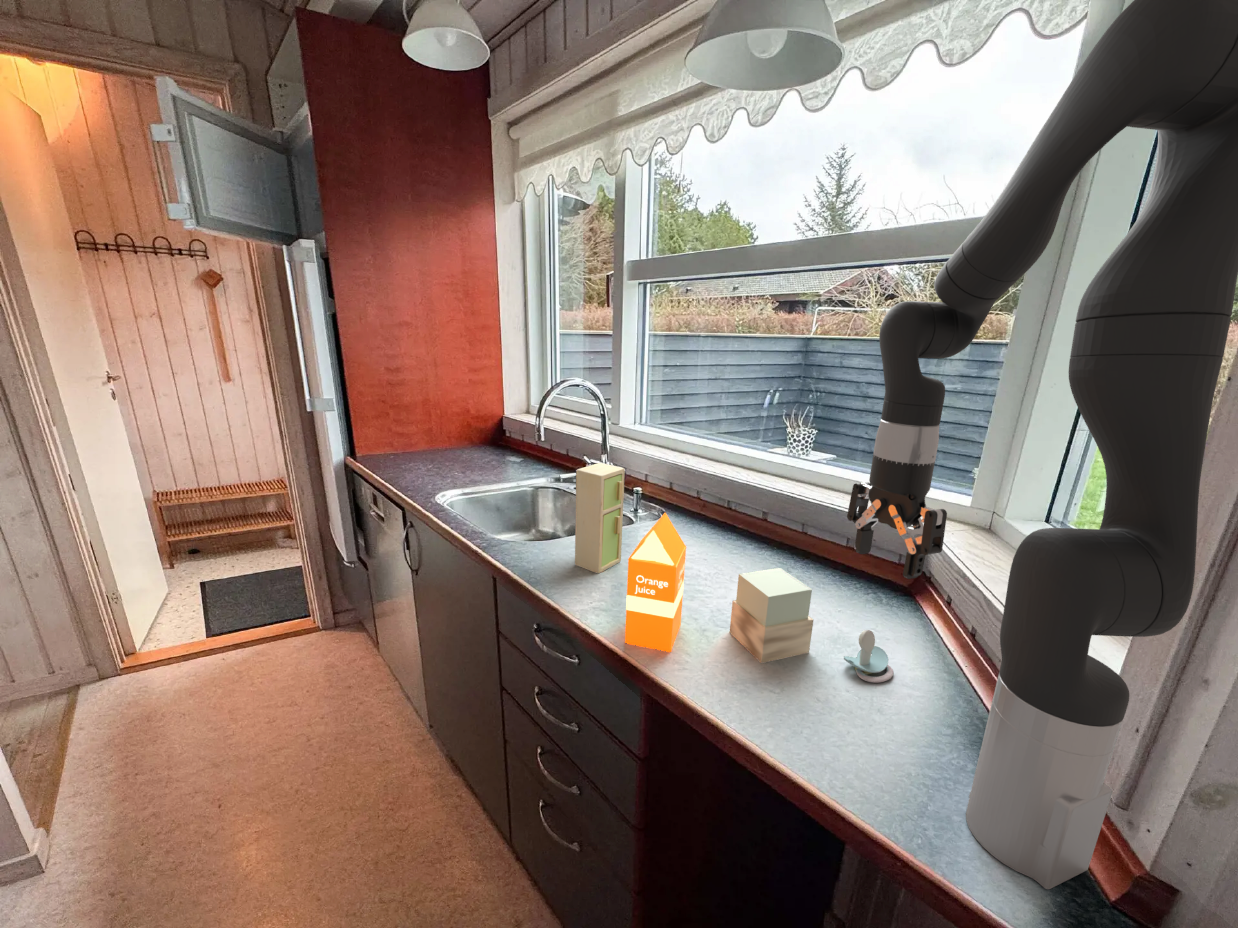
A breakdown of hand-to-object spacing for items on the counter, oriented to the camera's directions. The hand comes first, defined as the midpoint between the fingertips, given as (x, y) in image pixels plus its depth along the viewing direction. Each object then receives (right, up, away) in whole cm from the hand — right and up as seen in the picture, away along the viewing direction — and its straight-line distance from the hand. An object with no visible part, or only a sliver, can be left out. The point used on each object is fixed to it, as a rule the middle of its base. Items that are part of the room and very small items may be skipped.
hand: (885, 564), depth 78 cm
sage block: (-14, -9, +9) cm, 19 cm away
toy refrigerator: (-42, -7, +37) cm, 57 cm away
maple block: (-14, -15, +11) cm, 23 cm away
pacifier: (0, -17, +4) cm, 18 cm away
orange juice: (-33, -14, +12) cm, 37 cm away
